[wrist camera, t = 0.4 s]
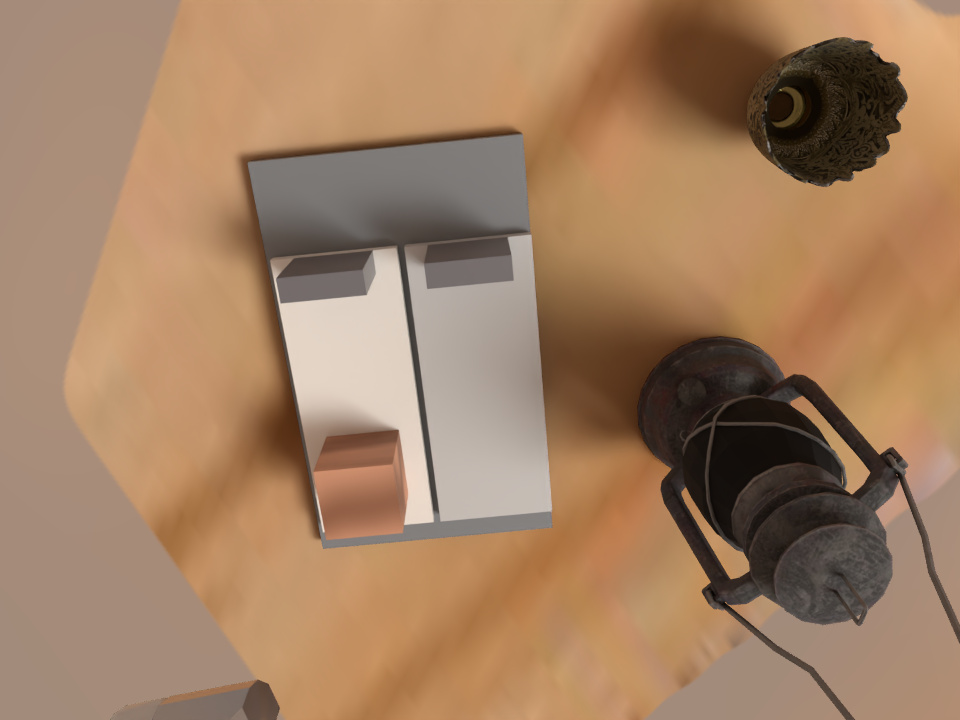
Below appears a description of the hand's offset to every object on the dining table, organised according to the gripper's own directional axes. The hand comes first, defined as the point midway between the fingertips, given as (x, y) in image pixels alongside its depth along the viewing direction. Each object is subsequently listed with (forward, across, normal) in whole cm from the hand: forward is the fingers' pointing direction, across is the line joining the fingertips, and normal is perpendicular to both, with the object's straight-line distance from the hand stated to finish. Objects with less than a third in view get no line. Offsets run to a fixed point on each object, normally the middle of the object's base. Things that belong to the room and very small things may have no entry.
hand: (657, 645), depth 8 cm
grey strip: (+43, +4, +14) cm, 46 cm away
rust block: (+43, +14, +18) cm, 48 cm away
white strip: (+43, +13, +13) cm, 47 cm away
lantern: (+45, -11, +20) cm, 50 cm away
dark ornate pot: (+45, -18, +1) cm, 48 cm away
